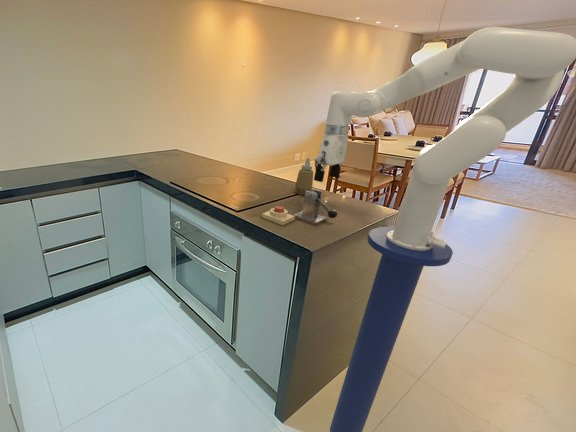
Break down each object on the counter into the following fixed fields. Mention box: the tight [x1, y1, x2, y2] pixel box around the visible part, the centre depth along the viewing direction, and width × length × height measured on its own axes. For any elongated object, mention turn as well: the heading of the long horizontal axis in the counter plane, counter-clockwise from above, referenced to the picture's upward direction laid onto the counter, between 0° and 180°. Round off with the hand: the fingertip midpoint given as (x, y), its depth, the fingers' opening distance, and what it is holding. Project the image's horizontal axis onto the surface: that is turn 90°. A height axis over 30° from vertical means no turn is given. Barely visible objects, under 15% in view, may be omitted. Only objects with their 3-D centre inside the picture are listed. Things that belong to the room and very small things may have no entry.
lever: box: [311, 190, 338, 219], centre depth 113 cm, size 13×3×3 cm
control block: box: [261, 207, 296, 226], centre depth 118 cm, size 10×8×4 cm
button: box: [274, 205, 285, 213], centre depth 117 cm, size 4×4×2 cm
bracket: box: [292, 188, 328, 226], centre depth 117 cm, size 10×8×12 cm
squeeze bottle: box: [294, 157, 314, 196], centre depth 144 cm, size 8×8×18 cm
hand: (326, 178), depth 107 cm, fingers open, 9 cm apart
